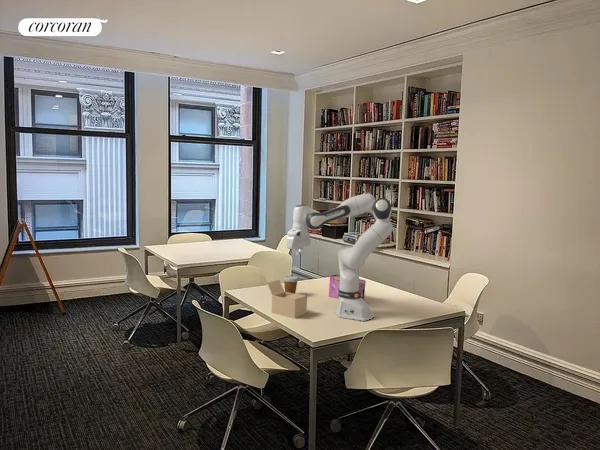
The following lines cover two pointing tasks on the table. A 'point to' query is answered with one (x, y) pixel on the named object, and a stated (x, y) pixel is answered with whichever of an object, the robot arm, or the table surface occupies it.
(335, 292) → the gum box
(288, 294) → the kraft carton
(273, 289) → the carton flap
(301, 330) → the table surface
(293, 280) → the disposable coffee cup
